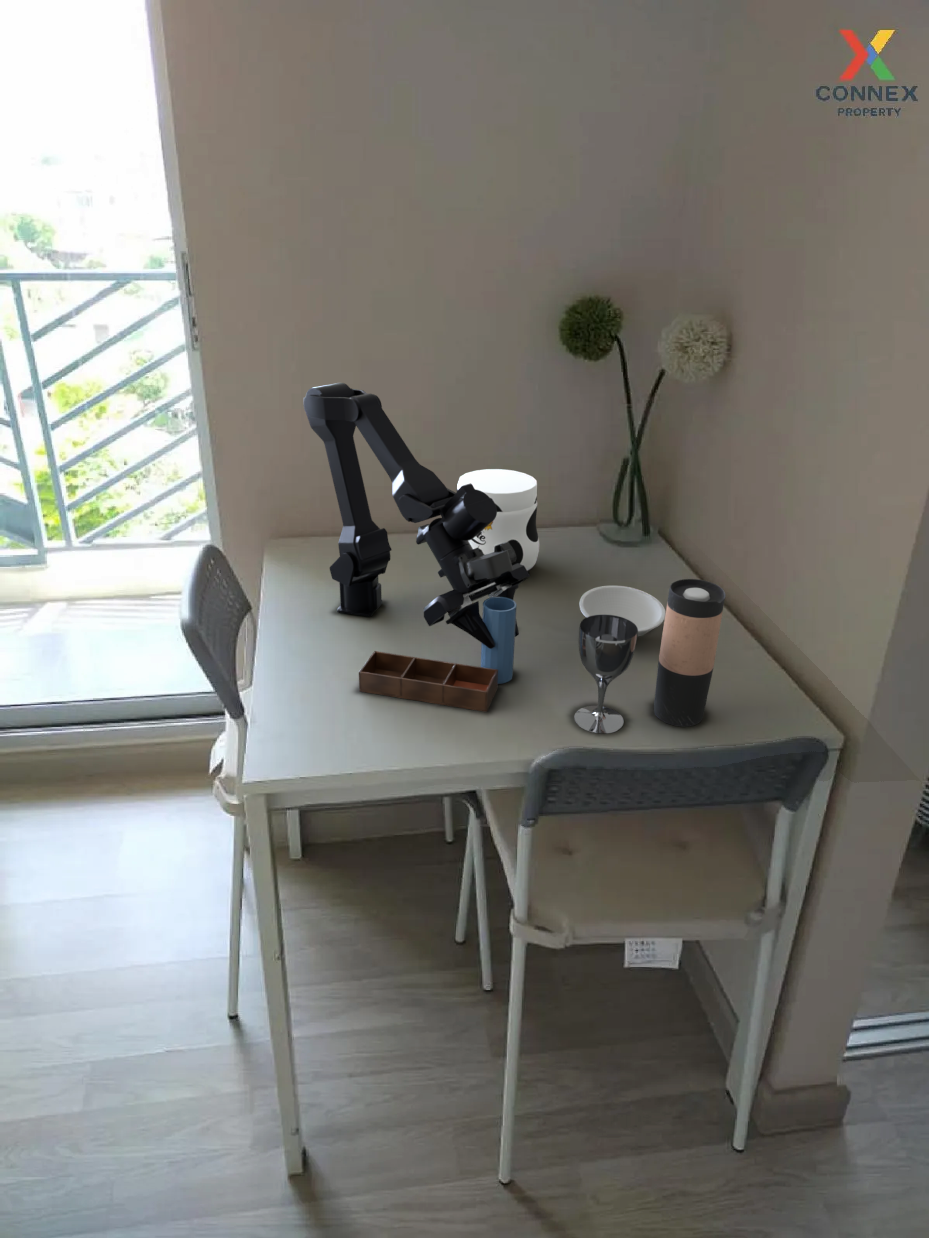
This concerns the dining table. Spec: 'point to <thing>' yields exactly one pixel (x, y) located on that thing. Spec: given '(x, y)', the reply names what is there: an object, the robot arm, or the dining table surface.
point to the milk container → (508, 512)
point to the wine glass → (604, 665)
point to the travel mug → (688, 651)
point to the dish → (624, 606)
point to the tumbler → (500, 636)
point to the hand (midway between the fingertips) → (504, 641)
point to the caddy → (429, 681)
